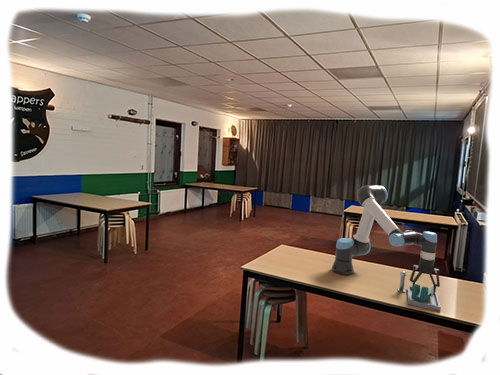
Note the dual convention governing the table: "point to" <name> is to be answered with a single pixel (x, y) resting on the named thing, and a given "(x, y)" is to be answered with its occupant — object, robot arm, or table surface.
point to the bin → (429, 303)
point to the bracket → (420, 293)
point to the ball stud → (402, 282)
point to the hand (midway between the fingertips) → (423, 295)
